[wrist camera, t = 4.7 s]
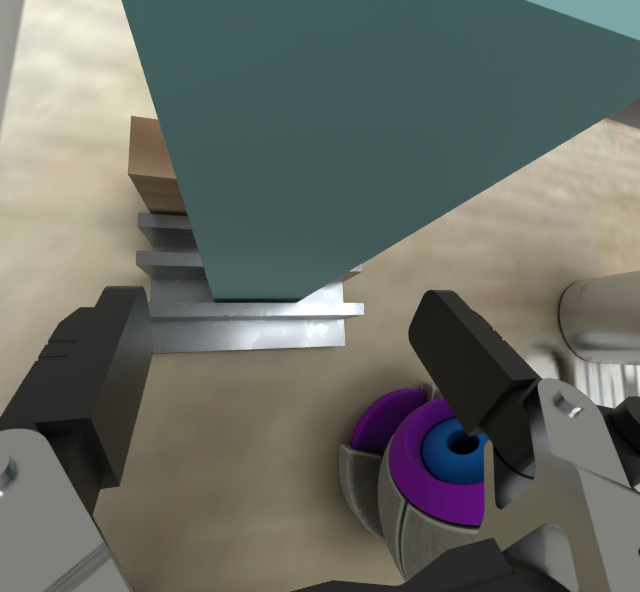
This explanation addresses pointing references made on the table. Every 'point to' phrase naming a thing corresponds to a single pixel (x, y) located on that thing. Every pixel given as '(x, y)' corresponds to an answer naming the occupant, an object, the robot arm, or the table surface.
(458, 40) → the tall sheet
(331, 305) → the rack
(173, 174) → the offcut stack
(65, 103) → the table surface
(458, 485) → the webcam
